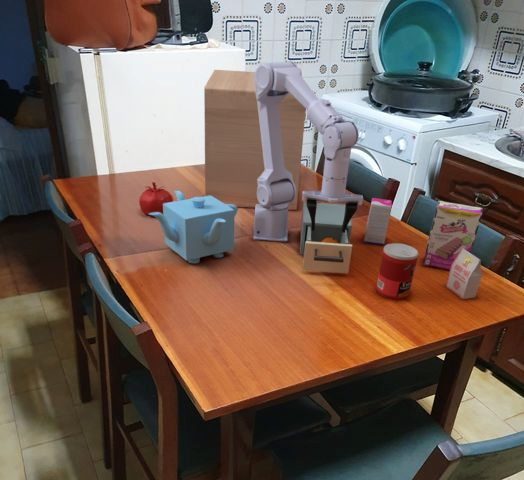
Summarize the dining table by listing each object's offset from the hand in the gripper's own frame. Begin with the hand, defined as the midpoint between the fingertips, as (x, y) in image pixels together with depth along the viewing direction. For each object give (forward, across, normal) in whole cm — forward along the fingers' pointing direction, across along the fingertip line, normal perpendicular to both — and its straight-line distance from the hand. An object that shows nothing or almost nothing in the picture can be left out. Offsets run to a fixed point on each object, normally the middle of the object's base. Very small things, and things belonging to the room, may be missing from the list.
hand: (328, 230), depth 138 cm
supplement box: (+9, +15, +18) cm, 25 cm away
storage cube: (+9, -23, +54) cm, 59 cm away
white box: (+9, +33, -10) cm, 36 cm away
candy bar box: (+9, +32, +4) cm, 34 cm away
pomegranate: (+9, -50, +27) cm, 57 cm away
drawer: (+8, 0, -2) cm, 8 cm away
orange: (+5, +1, 0) cm, 5 cm away
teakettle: (+9, -34, 0) cm, 35 cm away
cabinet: (+9, 0, +12) cm, 15 cm away
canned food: (+9, +16, -13) cm, 23 cm away
